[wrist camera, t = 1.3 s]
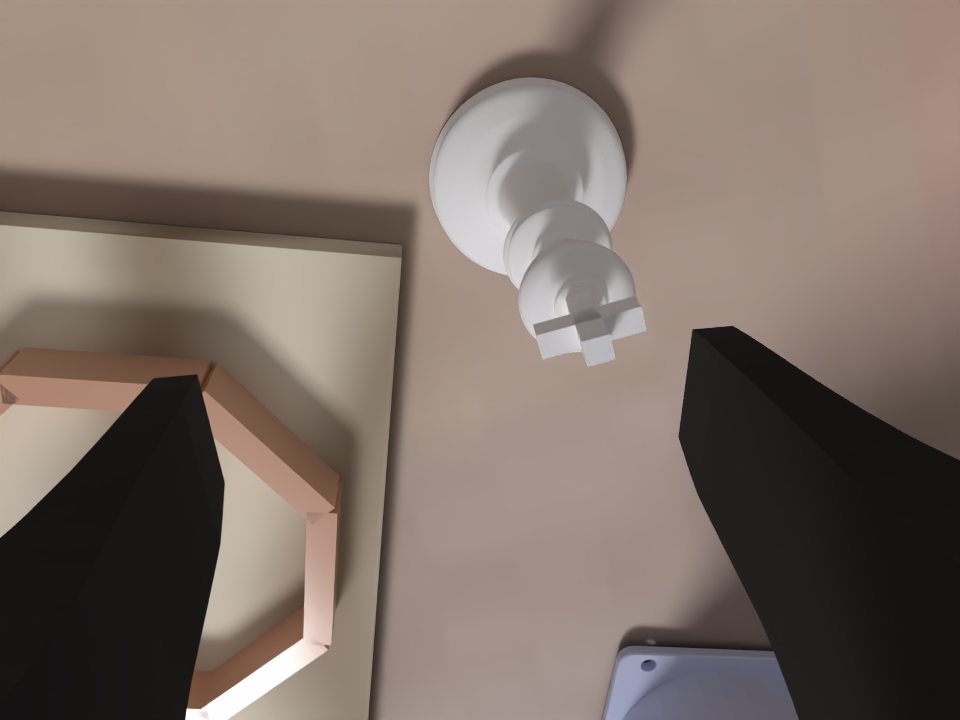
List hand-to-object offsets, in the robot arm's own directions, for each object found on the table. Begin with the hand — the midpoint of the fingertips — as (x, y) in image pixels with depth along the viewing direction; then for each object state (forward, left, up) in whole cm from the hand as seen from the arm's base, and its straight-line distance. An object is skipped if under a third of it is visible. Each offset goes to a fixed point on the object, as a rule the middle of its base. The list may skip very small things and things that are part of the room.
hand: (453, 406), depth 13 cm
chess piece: (-2, -1, -11) cm, 11 cm away
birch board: (+8, +10, -10) cm, 17 cm away
